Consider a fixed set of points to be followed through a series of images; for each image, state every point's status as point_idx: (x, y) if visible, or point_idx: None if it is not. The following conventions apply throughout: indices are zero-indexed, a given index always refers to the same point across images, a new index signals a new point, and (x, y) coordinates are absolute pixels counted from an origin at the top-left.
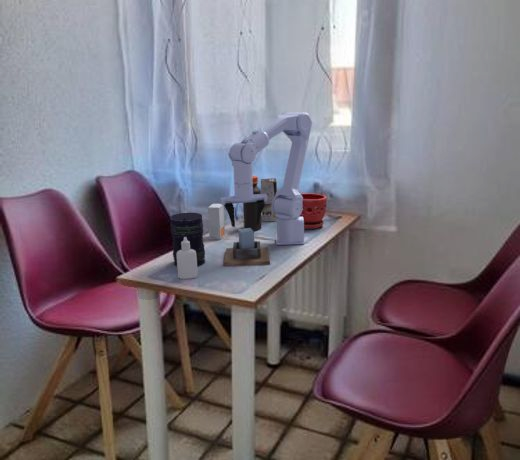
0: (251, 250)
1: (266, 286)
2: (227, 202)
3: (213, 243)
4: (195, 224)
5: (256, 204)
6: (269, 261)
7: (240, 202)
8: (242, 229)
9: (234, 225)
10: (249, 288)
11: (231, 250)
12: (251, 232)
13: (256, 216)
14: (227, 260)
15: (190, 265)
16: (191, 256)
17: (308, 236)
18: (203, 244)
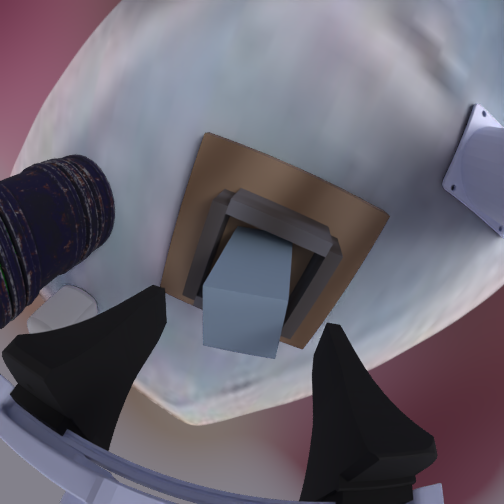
0: None
1: (230, 413)
2: (36, 427)
3: (193, 11)
4: (1, 328)
5: (315, 488)
6: (300, 348)
7: (148, 477)
8: (226, 303)
9: (159, 329)
10: (196, 404)
11: (217, 175)
12: (261, 351)
13: (319, 394)
14: (173, 277)
15: None
16: None
17: None
18: (73, 234)
